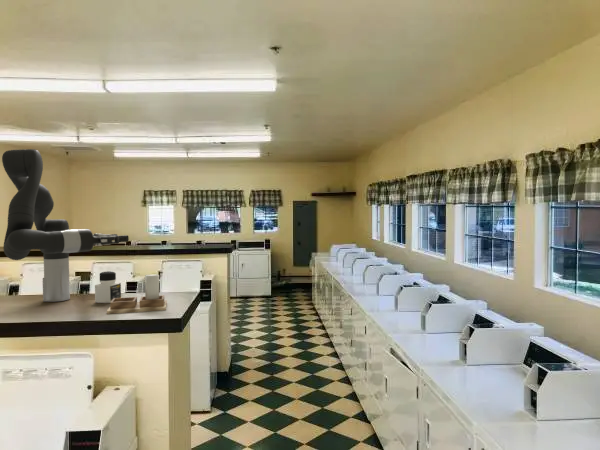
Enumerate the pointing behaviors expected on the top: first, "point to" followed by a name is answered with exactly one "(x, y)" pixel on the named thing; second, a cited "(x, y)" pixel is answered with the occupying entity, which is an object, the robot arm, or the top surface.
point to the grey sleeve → (151, 287)
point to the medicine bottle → (107, 288)
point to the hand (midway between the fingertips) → (122, 237)
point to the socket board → (136, 305)
